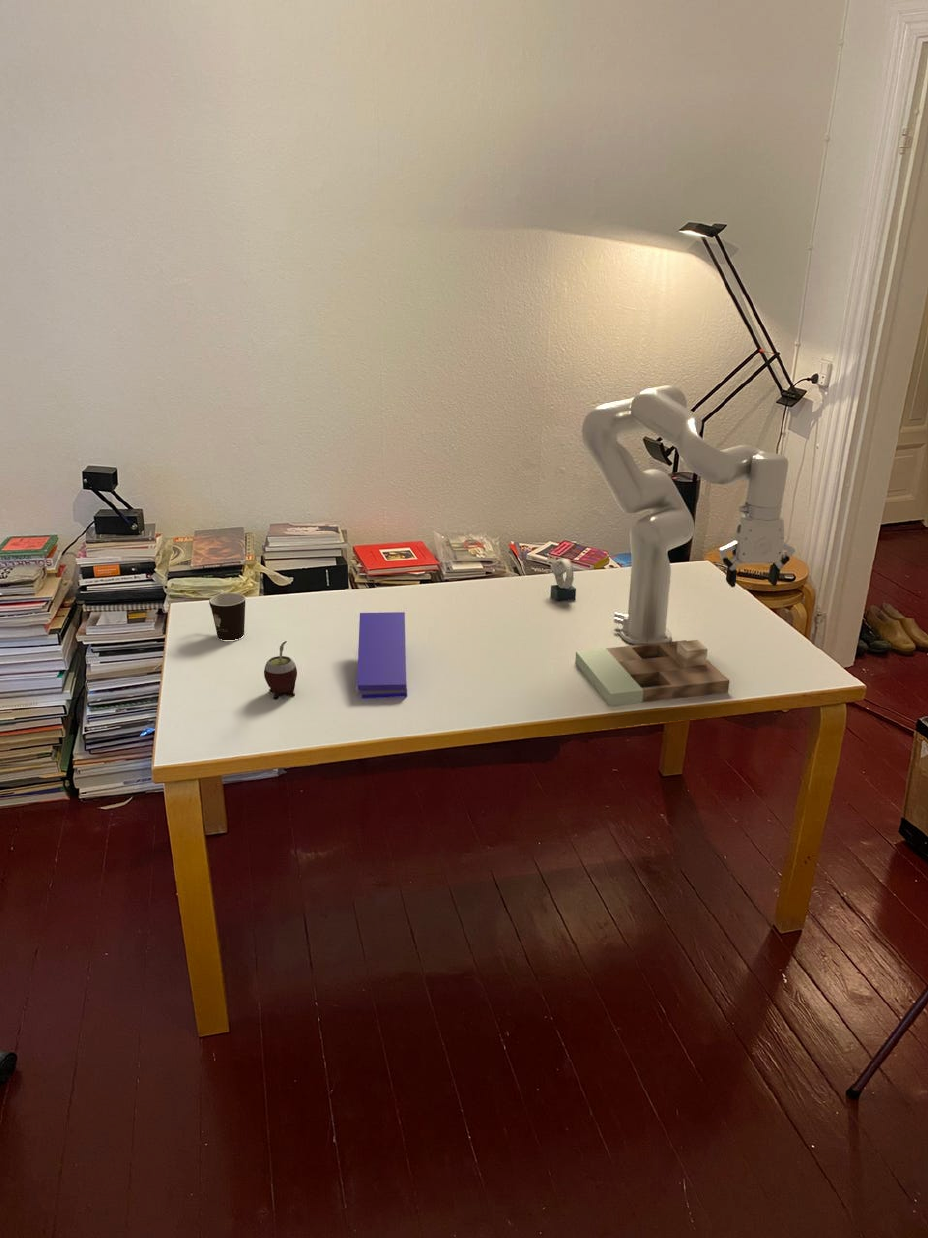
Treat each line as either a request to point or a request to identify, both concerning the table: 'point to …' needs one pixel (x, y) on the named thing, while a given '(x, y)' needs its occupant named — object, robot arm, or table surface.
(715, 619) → the table surface
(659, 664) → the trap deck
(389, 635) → the layered purple block
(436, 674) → the table surface
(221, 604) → the coffee mug
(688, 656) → the maple block
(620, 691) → the pad
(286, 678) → the mate gourd
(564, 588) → the white knot sculpture
